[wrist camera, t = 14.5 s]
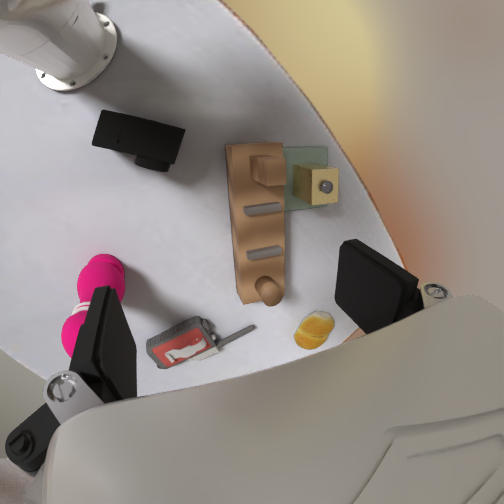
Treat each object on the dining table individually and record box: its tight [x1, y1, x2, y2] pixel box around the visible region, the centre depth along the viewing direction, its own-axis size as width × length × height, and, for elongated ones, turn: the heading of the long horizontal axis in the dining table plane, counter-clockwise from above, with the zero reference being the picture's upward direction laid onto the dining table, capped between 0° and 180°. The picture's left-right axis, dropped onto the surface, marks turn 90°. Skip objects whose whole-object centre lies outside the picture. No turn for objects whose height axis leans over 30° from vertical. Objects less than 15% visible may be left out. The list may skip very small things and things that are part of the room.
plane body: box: [225, 142, 286, 306], centre depth 39 cm, size 24×7×10 cm, turn 3°
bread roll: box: [294, 311, 334, 350], centre depth 55 cm, size 8×9×4 cm
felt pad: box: [283, 147, 328, 212], centre depth 43 cm, size 10×8×1 cm
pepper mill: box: [61, 254, 125, 358], centre depth 30 cm, size 7×7×20 cm
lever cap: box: [293, 163, 339, 205], centre depth 40 cm, size 5×4×7 cm
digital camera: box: [92, 110, 185, 172], centre depth 30 cm, size 10×5×7 cm, turn 70°
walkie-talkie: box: [146, 316, 254, 369], centre depth 47 cm, size 9×4×20 cm
